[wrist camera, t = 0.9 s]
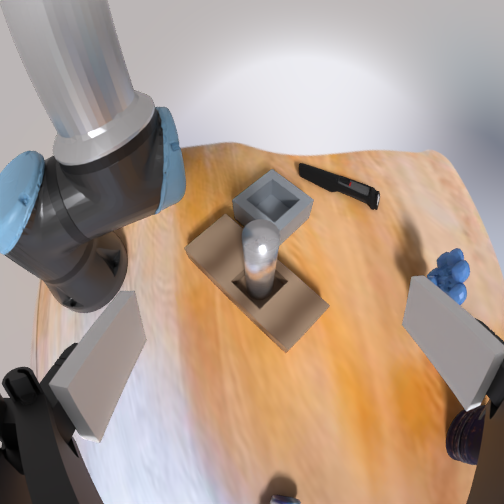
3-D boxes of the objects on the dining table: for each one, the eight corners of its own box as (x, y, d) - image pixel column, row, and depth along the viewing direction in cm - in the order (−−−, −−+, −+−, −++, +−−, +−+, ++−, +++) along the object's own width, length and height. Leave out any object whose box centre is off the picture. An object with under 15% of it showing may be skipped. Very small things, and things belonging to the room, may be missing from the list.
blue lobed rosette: (404, 263, 43) (441, 227, 33) (437, 273, 42) (477, 240, 32) (397, 333, 39) (440, 312, 28) (432, 340, 38) (480, 321, 27)
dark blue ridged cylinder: (468, 467, 27) (527, 477, 14) (435, 452, 30) (497, 464, 16) (493, 416, 30) (553, 411, 17) (463, 397, 33) (527, 389, 20)
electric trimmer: (301, 167, 52) (303, 155, 50) (379, 197, 49) (385, 187, 46) (294, 181, 51) (296, 169, 48) (375, 213, 48) (381, 202, 45)
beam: (189, 258, 44) (184, 247, 41) (227, 225, 47) (225, 213, 44) (285, 353, 38) (288, 350, 35) (324, 312, 40) (329, 305, 37)
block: (234, 217, 47) (232, 199, 43) (270, 188, 50) (271, 168, 45) (273, 251, 45) (275, 235, 40) (308, 217, 47) (313, 200, 43)
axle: (241, 287, 41) (233, 235, 28) (259, 270, 42) (260, 212, 29) (259, 304, 40) (261, 260, 27) (277, 287, 41) (288, 235, 28)
